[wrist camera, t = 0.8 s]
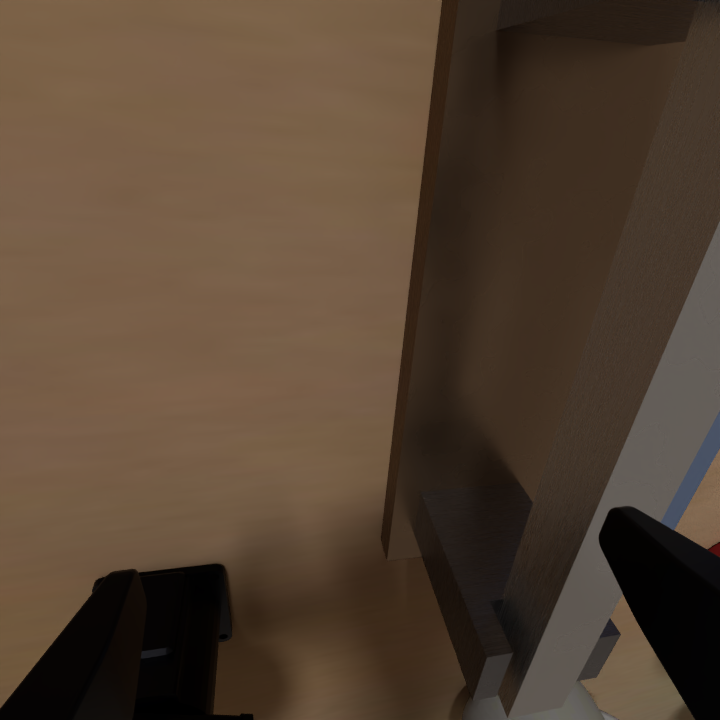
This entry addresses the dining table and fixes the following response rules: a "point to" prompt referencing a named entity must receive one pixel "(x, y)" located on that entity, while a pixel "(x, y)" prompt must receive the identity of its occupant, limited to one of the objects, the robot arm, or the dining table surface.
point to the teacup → (575, 716)
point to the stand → (513, 279)
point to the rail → (627, 391)
